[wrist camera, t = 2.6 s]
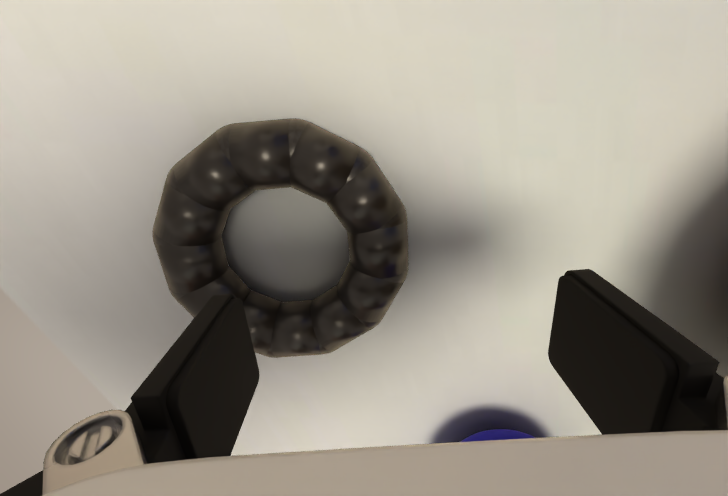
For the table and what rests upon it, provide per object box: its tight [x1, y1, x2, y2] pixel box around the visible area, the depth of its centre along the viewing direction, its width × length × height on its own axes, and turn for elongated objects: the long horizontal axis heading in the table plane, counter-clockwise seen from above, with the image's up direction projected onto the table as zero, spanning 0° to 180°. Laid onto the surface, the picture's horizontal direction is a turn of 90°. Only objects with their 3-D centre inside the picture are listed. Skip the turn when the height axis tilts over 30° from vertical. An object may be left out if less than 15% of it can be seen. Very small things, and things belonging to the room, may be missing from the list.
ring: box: [153, 119, 409, 358], centre depth 17 cm, size 12×12×3 cm
